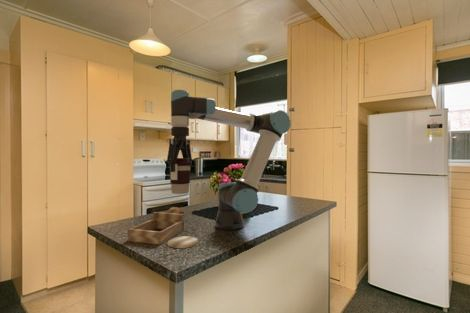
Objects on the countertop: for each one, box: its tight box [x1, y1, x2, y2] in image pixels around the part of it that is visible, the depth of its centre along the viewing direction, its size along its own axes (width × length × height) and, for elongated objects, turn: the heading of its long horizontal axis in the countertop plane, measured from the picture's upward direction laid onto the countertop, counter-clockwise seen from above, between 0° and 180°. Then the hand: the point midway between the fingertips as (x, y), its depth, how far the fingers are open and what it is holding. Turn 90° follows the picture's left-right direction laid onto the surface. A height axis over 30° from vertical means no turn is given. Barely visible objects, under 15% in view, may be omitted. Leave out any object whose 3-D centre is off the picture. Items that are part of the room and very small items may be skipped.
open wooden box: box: [127, 211, 185, 245], centre depth 121 cm, size 16×21×8 cm
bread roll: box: [166, 206, 185, 214], centre depth 154 cm, size 10×10×8 cm
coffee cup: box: [167, 157, 193, 195], centre depth 111 cm, size 10×10×15 cm
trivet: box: [166, 235, 199, 249], centre depth 111 cm, size 13×13×1 cm
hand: (180, 178), depth 111 cm, fingers closed on coffee cup, 10 cm apart
